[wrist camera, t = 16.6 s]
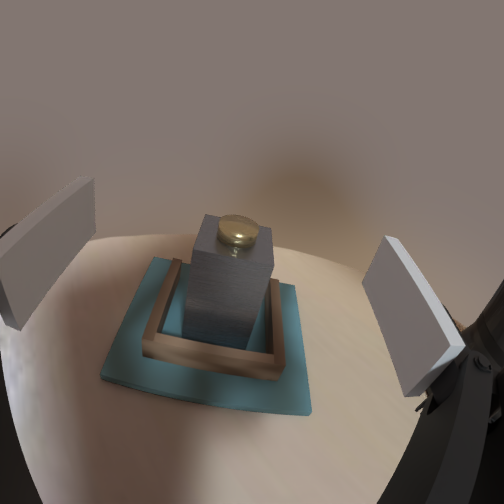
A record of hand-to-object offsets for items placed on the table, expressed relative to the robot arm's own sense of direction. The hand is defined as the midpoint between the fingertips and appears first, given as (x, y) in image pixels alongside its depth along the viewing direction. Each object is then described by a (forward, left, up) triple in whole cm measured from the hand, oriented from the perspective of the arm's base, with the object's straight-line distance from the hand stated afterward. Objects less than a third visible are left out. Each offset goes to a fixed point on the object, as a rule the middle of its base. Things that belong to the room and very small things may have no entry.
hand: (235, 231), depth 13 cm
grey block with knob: (-6, -8, -16) cm, 19 cm away
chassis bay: (-6, -8, -17) cm, 19 cm away
